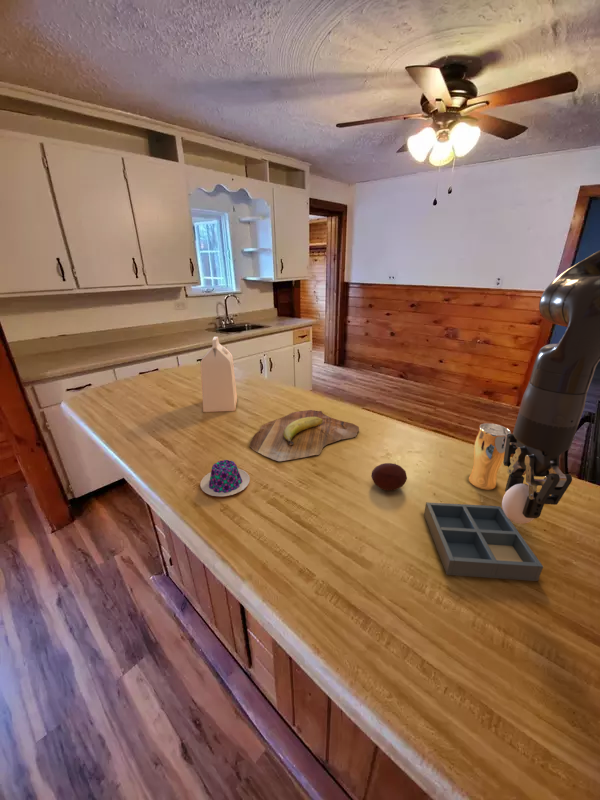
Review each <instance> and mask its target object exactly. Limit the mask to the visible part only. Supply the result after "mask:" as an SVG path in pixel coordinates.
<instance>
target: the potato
mask: <svg viewBox="0 0 600 800" xmlns="http://www.w3.org/2000/svg"><path fill="white" fill-rule="evenodd" d="M371 480H372V482H373V484H375V485H376V486H377V487H378V488H379V489H381V490H384V491H388V492H389V491H390V492H391V491H396V490H398V489H400V488H402V487H403V486H404V485H405V484H406V483H407V480H408V477H407V472H406V469H404V468H403V467H402V466H401V465H399V464H396V463H391V462H385V463H384V462H383V463H381V464H379V465H377V466H376V467H374V469H372V470H371Z"/></svg>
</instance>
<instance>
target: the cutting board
mask: <svg viewBox="0 0 600 800" xmlns="http://www.w3.org/2000/svg"><path fill="white" fill-rule="evenodd" d="M359 431H360V427H359V426H358V425H357V424H354V423H352V422H348V421H343V420H341V419H340V420H339V419H336V418H334V417H331V416H328V415H326V414H325V413H323V411H322V410H314V409H309V410H301V411H294V412H290V413H289V414H287V415H285V416H283V417H279V418H277V419H274V420H271V421H268V422H266V423H264V424H262V425H261V427H260V428H259V430H258V431H257V432H256V433H254V435H253V436H252V437H251V438H252V439H251V441H250V442H249V447H250V449H251V450H253V451H254V452H256V453H259V454H260V455H262V456H263V457H266V458H268V459H271V460H273V461H277V462H285V461H290V460H292V461H293V460H297V459H302V458H308V457H313V456H320V454H321V453H322V451H323V449H324V447H326V446H327V445H330V444H334V443H336V442H338V441H341V440H346V439H347V440H348V439H353V438H356V437H357V435H358V432H359Z"/></svg>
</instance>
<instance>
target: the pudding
mask: <svg viewBox="0 0 600 800" xmlns="http://www.w3.org/2000/svg"><path fill="white" fill-rule="evenodd" d="M250 481H251V476H250V475H249V473H248V472H246V470H243V469H242V468H239V467H238V466H237V464H236V462H235V461H233V460H229V459H224V460H218V461H217V462H216V463H215V462H214V463H213V465H212V467H211V471H210V472H208V473H207V474H205V475H204V476H203V477H202V478H201V480H200V483H199V485H200V486H199V487H200V489H201V490H202V492H204V493H205V494H206V495H209V496H212V497H228V496H234V495H235V494H238V493H240V492H242V491H244V490H245V489H246V488H247V487H248V486H249V483H250Z"/></svg>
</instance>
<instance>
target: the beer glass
mask: <svg viewBox="0 0 600 800" xmlns="http://www.w3.org/2000/svg"><path fill="white" fill-rule="evenodd" d="M507 434H512V430H510V428H508V427H505V426H503V425H500V424H499V423H498V424H496V423H492V422H490V423H489V422H485V423H481V424H480V425H479V427H478V430H477V433H476V436H475V440H474V445H473V466H472V470H471V473H470V474H469V476H468V482H469V483H470V484H471V485H473V486H474V487H475V488H478V489H481V490H485V491H487V490H493V489H495V488H496V486H497V475H498V472H499V470H500V467H502V464H503V461H504V454H505V446H506V439H507Z"/></svg>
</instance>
